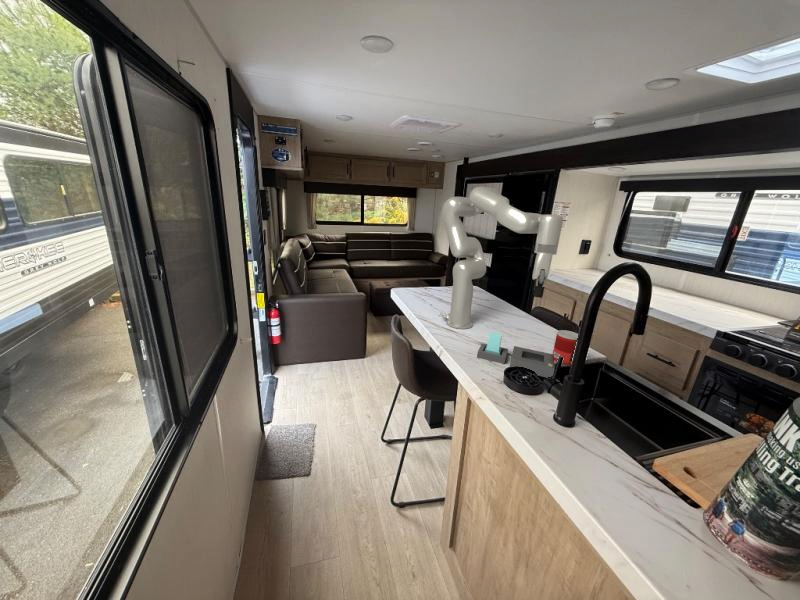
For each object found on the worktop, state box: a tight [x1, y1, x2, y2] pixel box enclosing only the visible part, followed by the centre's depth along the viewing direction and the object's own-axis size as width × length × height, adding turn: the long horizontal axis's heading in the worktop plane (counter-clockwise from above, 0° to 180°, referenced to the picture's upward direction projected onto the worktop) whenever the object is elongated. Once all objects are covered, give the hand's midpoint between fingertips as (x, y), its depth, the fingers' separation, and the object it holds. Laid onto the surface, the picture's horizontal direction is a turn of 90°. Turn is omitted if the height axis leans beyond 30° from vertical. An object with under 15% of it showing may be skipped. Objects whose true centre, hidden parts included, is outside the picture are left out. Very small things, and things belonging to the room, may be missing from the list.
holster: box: [476, 342, 509, 365], centre depth 118 cm, size 10×9×2 cm
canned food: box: [552, 329, 579, 366], centre depth 117 cm, size 8×8×11 cm
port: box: [509, 345, 556, 379], centre depth 111 cm, size 14×12×5 cm
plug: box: [485, 331, 503, 355], centre depth 117 cm, size 5×4×9 cm
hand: (537, 294), depth 118 cm, fingers open, 9 cm apart
